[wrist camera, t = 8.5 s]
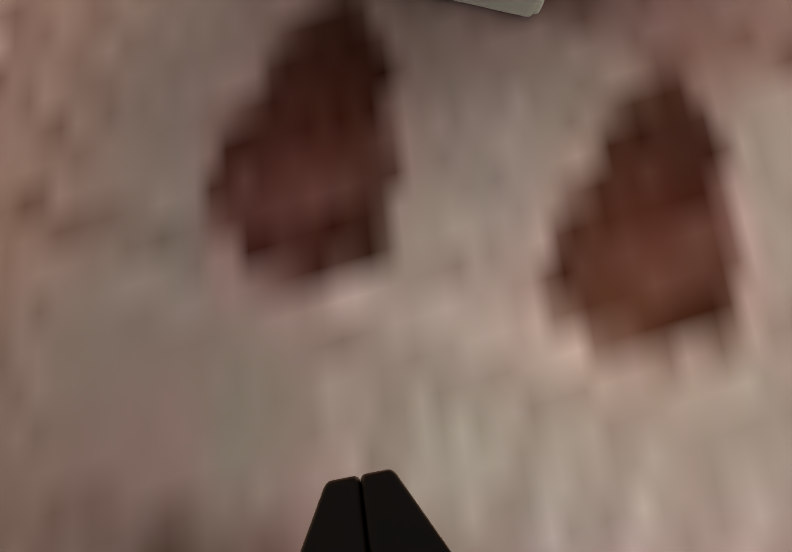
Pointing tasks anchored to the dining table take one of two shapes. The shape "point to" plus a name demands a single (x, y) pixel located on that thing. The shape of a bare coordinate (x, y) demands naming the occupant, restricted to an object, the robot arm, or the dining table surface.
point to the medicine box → (510, 6)
